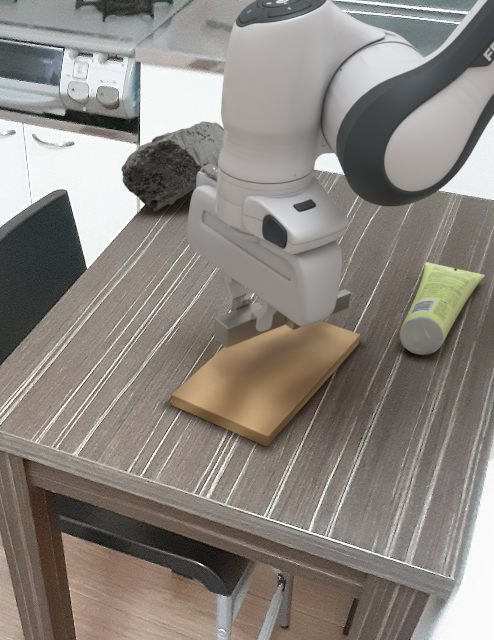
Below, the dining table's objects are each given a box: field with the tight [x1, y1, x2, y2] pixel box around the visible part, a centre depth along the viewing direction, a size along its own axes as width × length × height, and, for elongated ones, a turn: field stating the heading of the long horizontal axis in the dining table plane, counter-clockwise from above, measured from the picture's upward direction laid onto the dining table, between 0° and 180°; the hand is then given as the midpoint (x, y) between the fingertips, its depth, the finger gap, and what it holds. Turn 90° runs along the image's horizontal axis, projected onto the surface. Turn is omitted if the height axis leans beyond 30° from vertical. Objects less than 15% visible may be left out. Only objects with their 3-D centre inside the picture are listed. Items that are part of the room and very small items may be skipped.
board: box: [170, 320, 361, 448], centre depth 86 cm, size 12×22×2 cm, turn 143°
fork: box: [213, 288, 352, 348], centre depth 83 cm, size 16×5×2 cm, turn 121°
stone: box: [121, 121, 224, 213], centre depth 114 cm, size 12×18×15 cm
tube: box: [399, 261, 485, 356], centre depth 93 cm, size 6×5×20 cm
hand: (249, 319), depth 81 cm, fingers closed on fork, 2 cm apart
